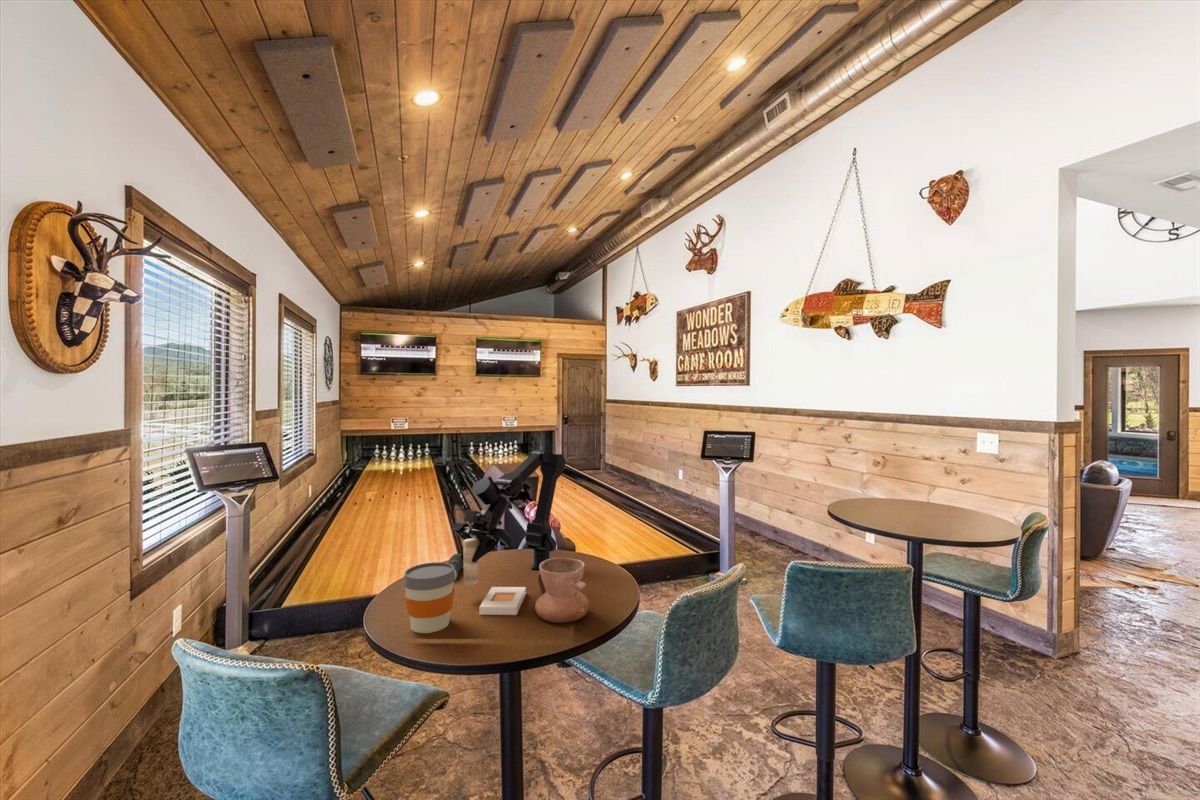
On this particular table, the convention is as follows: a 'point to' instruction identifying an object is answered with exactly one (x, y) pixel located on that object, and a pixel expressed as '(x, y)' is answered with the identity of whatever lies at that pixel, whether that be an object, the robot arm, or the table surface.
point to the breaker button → (503, 598)
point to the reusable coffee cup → (429, 595)
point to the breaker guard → (502, 606)
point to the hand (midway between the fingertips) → (467, 560)
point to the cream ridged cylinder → (470, 561)
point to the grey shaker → (456, 563)
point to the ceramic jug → (561, 590)
